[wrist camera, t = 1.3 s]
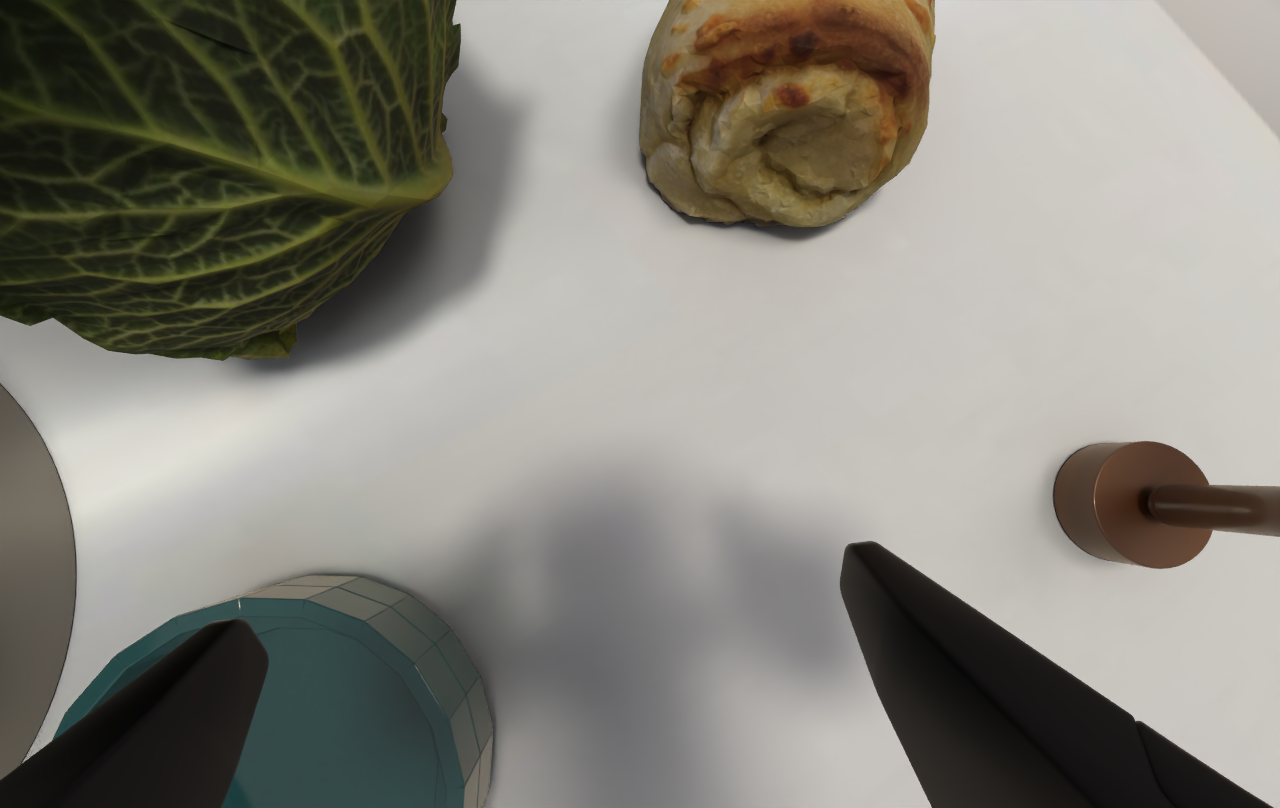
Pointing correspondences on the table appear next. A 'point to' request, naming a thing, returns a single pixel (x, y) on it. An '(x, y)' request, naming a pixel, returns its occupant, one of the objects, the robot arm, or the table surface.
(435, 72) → the vegetable
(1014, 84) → the table surface
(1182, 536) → the rounded top peg stand
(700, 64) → the pastry
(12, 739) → the container
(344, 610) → the bowl
